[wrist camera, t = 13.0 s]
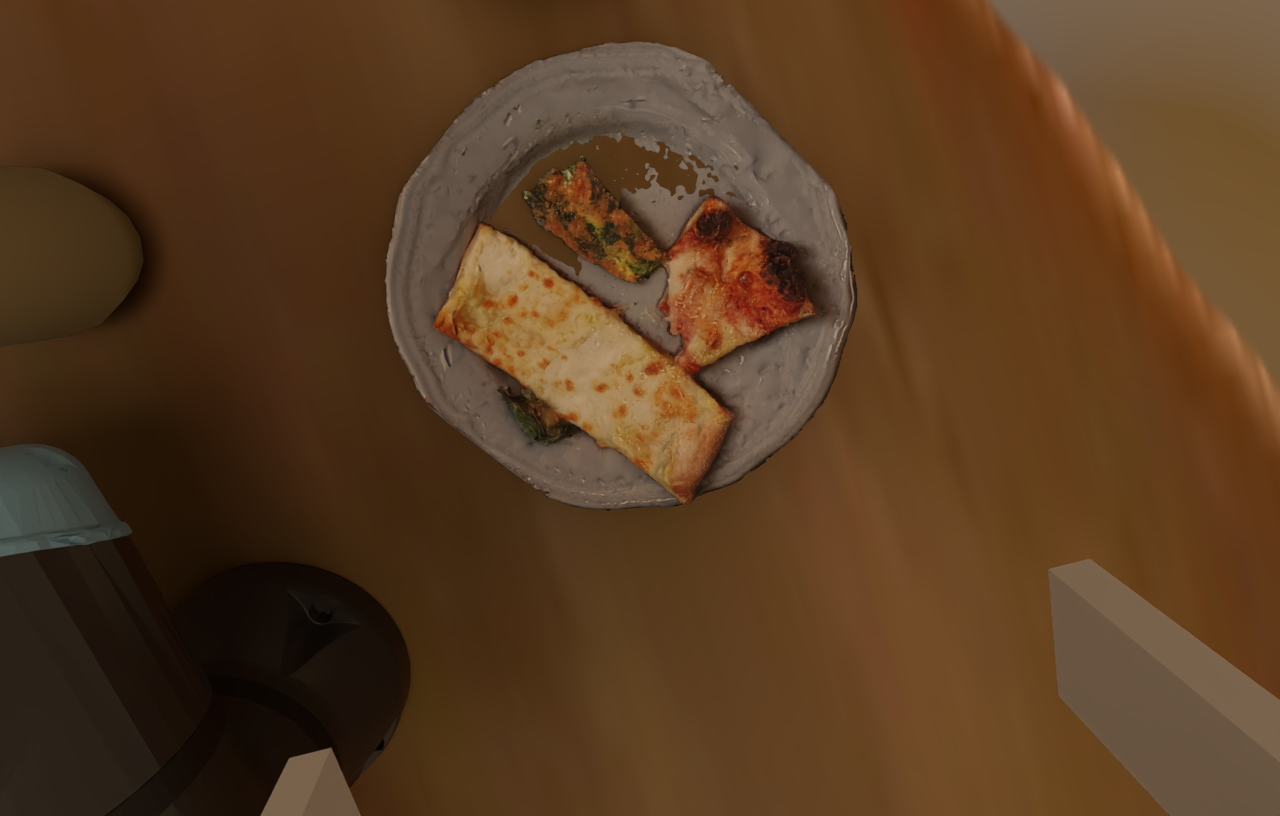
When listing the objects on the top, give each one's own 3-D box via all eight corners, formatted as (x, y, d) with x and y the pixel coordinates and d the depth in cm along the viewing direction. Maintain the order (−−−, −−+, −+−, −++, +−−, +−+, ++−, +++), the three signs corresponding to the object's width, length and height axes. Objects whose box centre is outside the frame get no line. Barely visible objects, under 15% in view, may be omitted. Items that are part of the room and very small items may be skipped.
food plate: (923, 287, 44) (949, 296, 41) (652, 566, 48) (655, 594, 45) (594, -43, 39) (594, -65, 36) (320, 302, 43) (296, 312, 40)
